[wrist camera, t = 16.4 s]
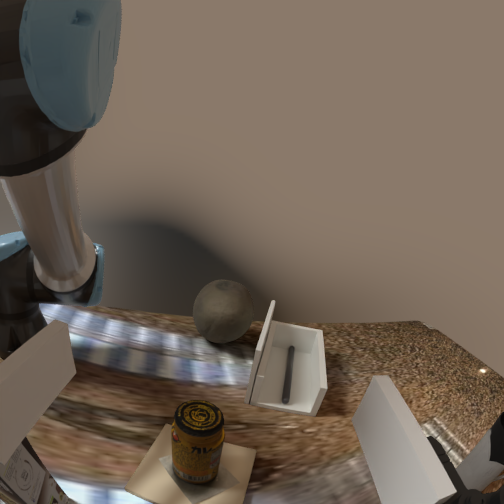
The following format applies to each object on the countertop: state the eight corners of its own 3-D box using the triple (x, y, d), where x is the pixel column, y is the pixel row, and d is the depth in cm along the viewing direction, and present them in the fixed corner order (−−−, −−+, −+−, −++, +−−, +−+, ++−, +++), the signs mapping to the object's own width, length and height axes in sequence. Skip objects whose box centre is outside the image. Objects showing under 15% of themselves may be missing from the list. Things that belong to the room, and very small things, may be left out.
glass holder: (446, 465, 26) (495, 402, 23) (499, 479, 18) (549, 418, 15) (437, 500, 20) (497, 438, 16) (495, 512, 11) (557, 451, 8)
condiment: (203, 443, 32) (209, 387, 30) (240, 483, 26) (256, 433, 24) (158, 459, 27) (152, 403, 25) (192, 505, 21) (193, 461, 19)
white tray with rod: (244, 403, 44) (255, 349, 41) (262, 344, 65) (272, 300, 63) (315, 416, 42) (336, 365, 39) (314, 354, 63) (327, 311, 61)
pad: (125, 490, 21) (124, 487, 21) (166, 427, 35) (166, 423, 35) (234, 528, 19) (235, 526, 19) (255, 453, 33) (256, 449, 33)
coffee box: (69, 495, 17) (19, 419, 13) (60, 532, 11) (-8, 468, 7) (13, 469, 15) (-40, 383, 12) (0, 500, 9) (-69, 418, 5)
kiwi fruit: (177, 340, 60) (181, 280, 57) (211, 320, 73) (217, 267, 69) (230, 365, 55) (241, 301, 51) (258, 339, 67) (269, 284, 64)
